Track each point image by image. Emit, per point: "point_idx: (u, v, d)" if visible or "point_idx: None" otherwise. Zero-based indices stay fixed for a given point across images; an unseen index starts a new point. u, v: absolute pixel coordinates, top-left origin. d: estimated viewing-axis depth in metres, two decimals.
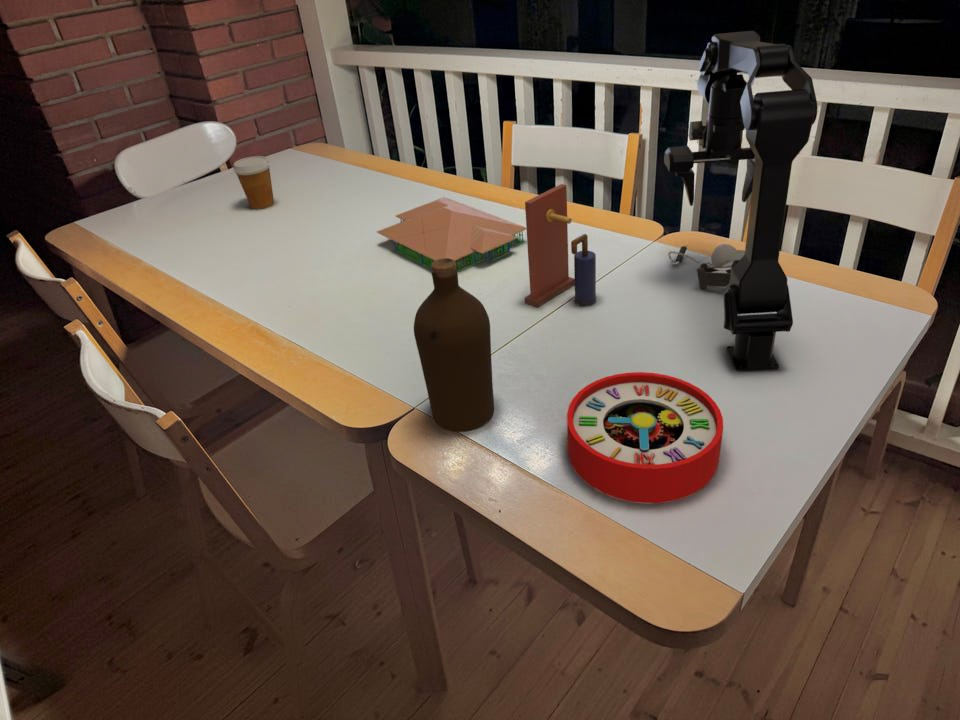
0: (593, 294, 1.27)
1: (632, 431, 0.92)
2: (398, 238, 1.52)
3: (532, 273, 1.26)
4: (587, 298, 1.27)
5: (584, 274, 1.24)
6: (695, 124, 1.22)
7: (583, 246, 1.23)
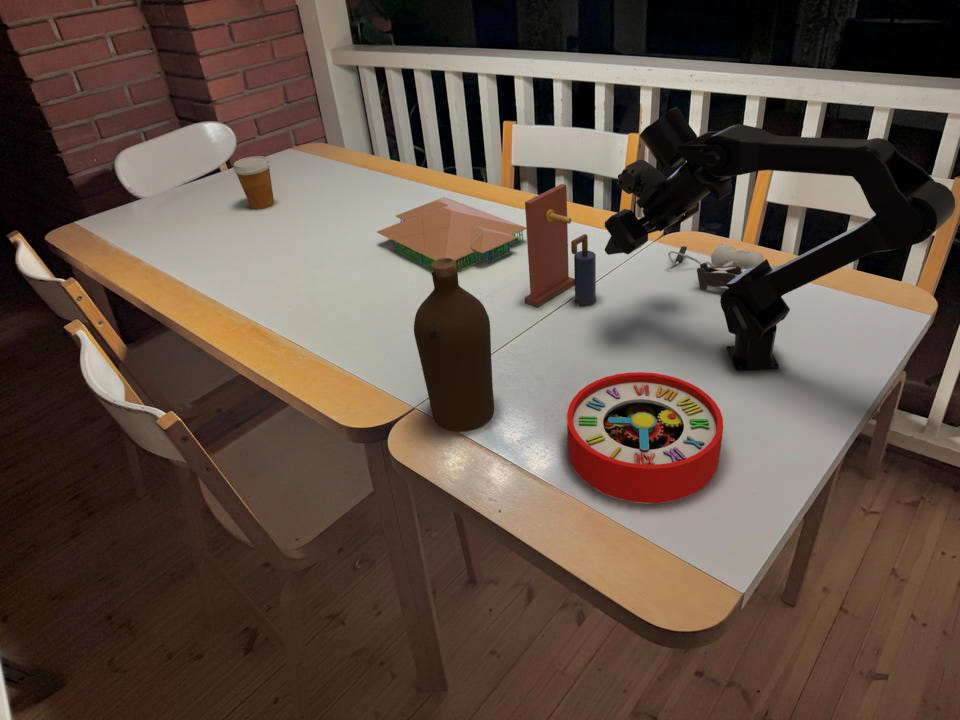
0: (593, 294, 1.27)
1: (632, 431, 0.92)
2: (398, 238, 1.52)
3: (532, 273, 1.26)
4: (587, 298, 1.27)
5: (584, 274, 1.24)
6: (636, 179, 1.05)
7: (583, 246, 1.23)
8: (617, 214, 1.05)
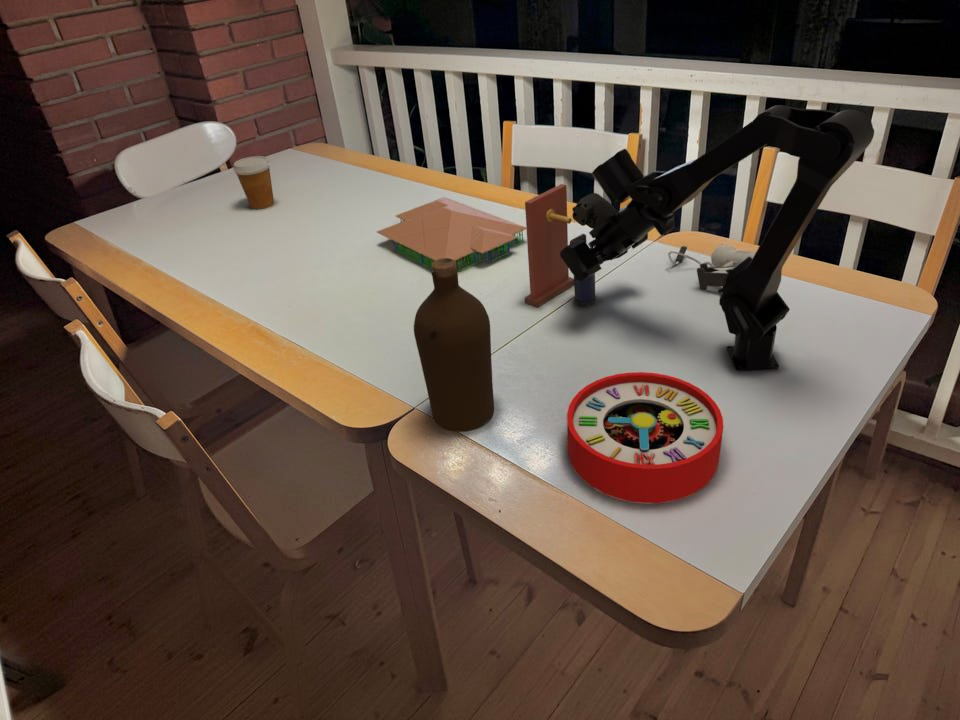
0: (593, 294, 1.27)
1: (632, 431, 0.92)
2: (398, 238, 1.52)
3: (532, 273, 1.26)
4: (587, 298, 1.27)
5: None
6: (588, 212, 1.14)
7: None
8: (571, 245, 1.14)
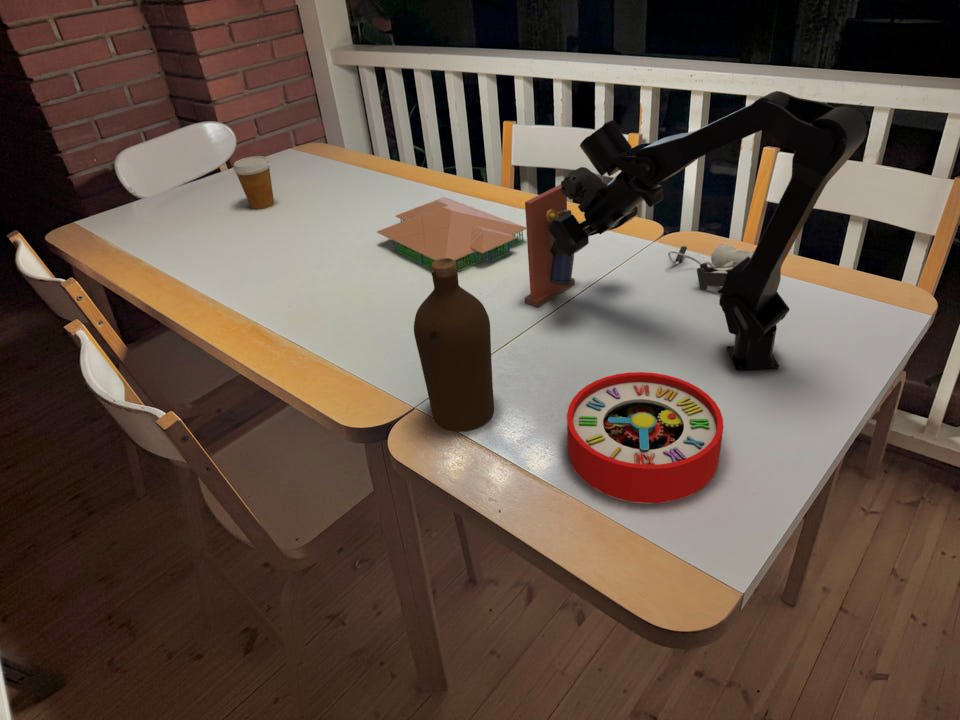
0: (569, 274, 1.26)
1: (632, 431, 0.92)
2: (398, 238, 1.52)
3: (532, 273, 1.26)
4: (563, 277, 1.25)
5: None
6: (577, 186, 1.13)
7: None
8: (560, 218, 1.13)
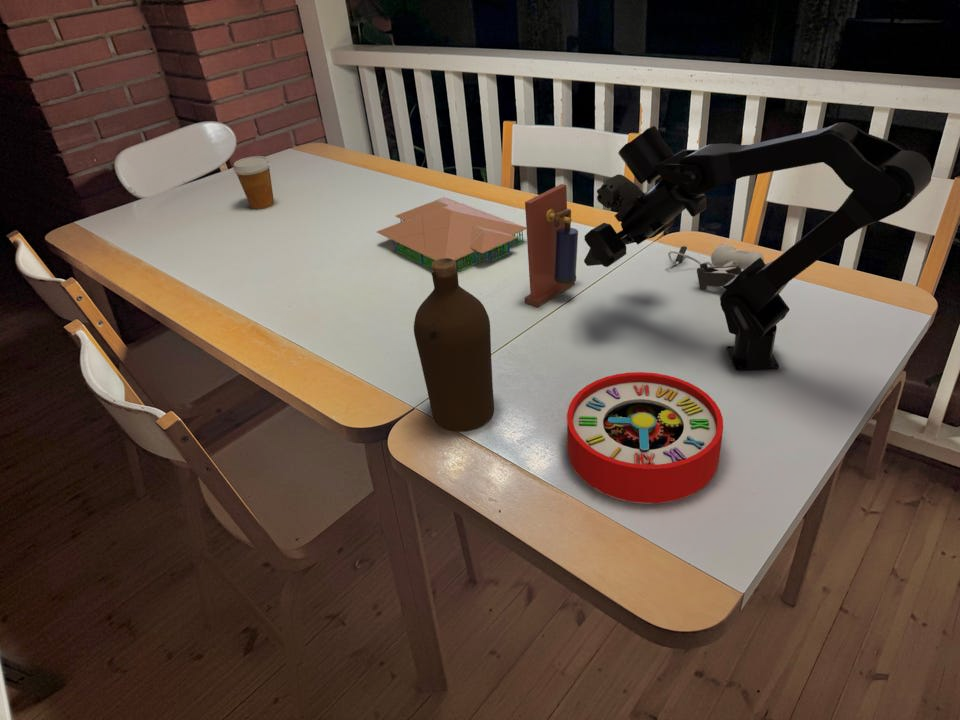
0: (573, 272, 1.26)
1: (632, 431, 0.92)
2: (398, 238, 1.52)
3: (532, 273, 1.26)
4: (567, 275, 1.26)
5: (565, 249, 1.24)
6: (614, 194, 1.09)
7: None
8: (596, 228, 1.09)
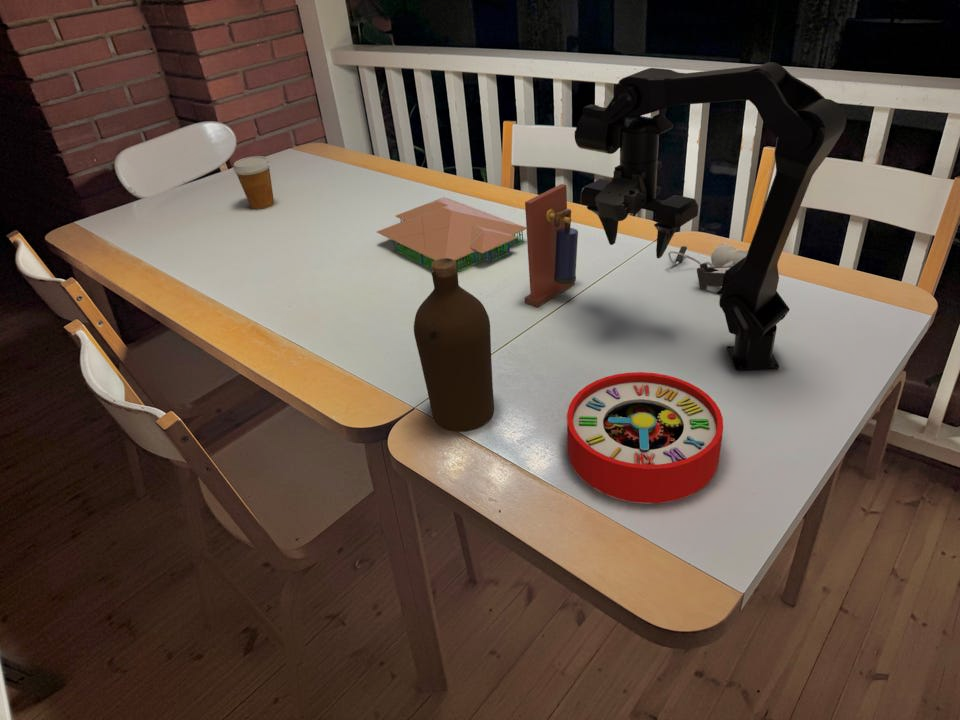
0: (573, 272, 1.26)
1: (632, 431, 0.92)
2: (398, 238, 1.52)
3: (532, 273, 1.26)
4: (567, 275, 1.26)
5: (565, 249, 1.24)
6: None
7: None
8: (671, 212, 1.04)
